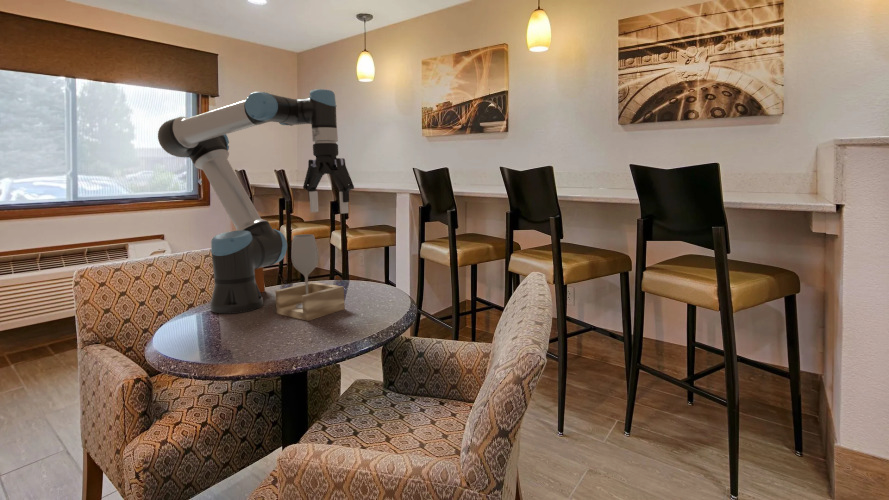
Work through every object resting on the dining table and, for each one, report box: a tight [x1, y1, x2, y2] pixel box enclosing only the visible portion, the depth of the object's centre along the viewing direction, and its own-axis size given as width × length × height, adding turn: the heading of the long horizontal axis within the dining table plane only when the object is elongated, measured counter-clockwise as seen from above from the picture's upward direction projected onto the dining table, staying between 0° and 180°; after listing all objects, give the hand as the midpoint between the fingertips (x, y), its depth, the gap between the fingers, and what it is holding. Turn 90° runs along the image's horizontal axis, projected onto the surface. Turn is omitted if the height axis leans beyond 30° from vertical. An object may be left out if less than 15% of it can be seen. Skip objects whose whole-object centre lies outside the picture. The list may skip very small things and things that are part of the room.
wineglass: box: [290, 233, 319, 309], centre depth 147 cm, size 8×8×21 cm
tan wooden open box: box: [274, 281, 346, 322], centre depth 150 cm, size 14×14×7 cm
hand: (329, 212), depth 156 cm, fingers open, 13 cm apart
